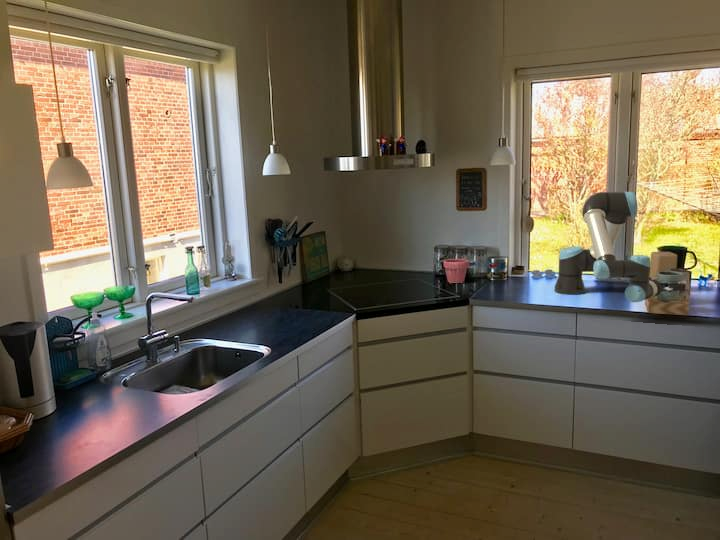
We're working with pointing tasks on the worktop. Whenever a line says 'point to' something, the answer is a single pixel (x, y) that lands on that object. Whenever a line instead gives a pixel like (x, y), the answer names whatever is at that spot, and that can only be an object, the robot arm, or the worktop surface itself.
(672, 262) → the wooden block
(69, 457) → the worktop surface
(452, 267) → the plant pot
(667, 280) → the green ceramic cup
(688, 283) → the coffee box
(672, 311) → the wooden box
